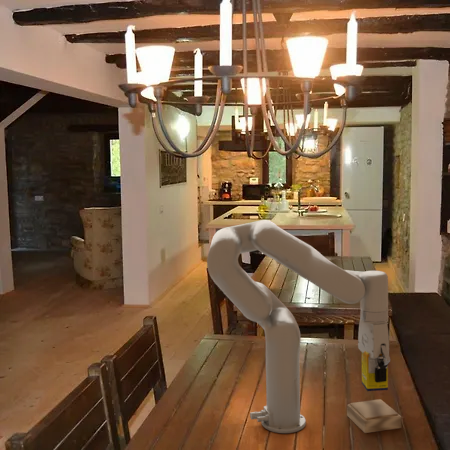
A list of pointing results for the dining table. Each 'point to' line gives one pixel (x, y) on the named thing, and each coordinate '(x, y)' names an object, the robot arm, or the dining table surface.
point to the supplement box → (372, 374)
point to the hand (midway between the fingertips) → (374, 376)
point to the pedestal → (373, 416)
